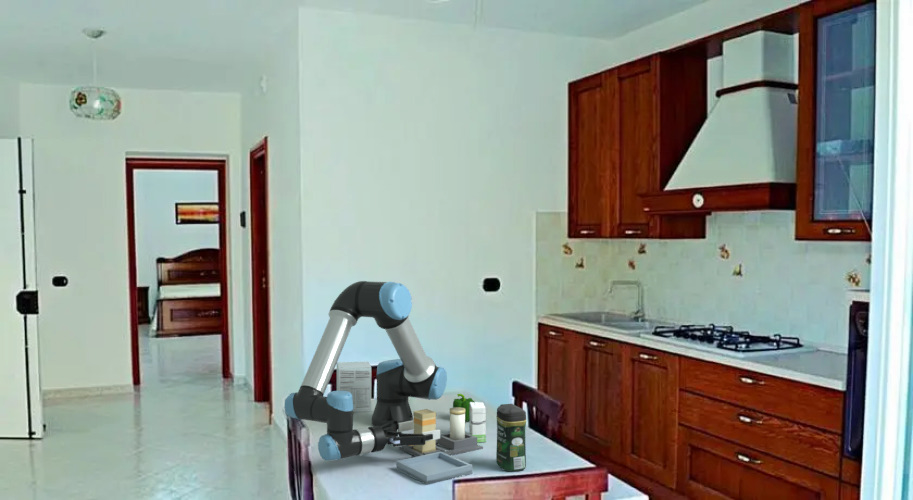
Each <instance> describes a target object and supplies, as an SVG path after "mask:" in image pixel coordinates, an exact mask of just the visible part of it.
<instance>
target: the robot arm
mask: <svg viewBox="0 0 913 500" xmlns="http://www.w3.org/2000/svg"><path fill="white" fill-rule="evenodd" d="M412 308H413V301H412V295H411V293H410V290H409V289H408V288H407V286H406V285H404V284H402V283H400V282H395V281H366V280H359V281H357V282H354V283H351V284H350V285H348V286H347V287H346V288H344V289H343V290H342V292H340V293H339V295H338V296H337V297H336V298H335V300H334V301H333V303H332V305H331V307H330V309H329V311H328V317H329V319H328V322H327V324H326V327H325V328H324V332H323V334H322V336H321V338H320V341H319V343H318V345H317V347H316V350H315V352H314V354H313V357H312V359H311V361H310V363H309V367H308V368H307V371H306V373H305V375H304V378H303V380H302V382H301V385H300V386H299V389H298V391H297V392H291V393H289V395H287V397H286V398H285V401H284V412H285V413H286V415H287V416H288V417H289V418H292V419H297V420H304V421H311V422H312V421H313V422H317V423H323V424H324V423H325V424H326V433H325V434H323V435H321V436H320V437H319V439H318V443H317V449H318V452H319V456H320V457H321V458H322V460H324V461H327V462H329V461H337V460H341V459H347V458H351V457H355V456H359V457H362V456H363V455H366V454H369V453H377V452H381V451H383V450H384V448H385V447H386V445H391V446H393V448H394V447H395V448H396V447H402V446H407V445H425V441H430V440H436V439H440V435H441V429H436V430H433V431H428V432H423V433H421V434H414V433H403V432H406V431H411V430H412V431H413V430H414V416H413V412H412V409H411V406H410V401H409V398H416V399H421V400H423V399H424V400H429V401H430V400H437V401H438V400H439V399H440V398H441V397H442V396H443V395H444V392H445V390H446V386H447V380H448V377H447V376H448V375H447V374H448V373H447V370H446V368H445V367H442V366H437V365H436V363H435V361H434V359H433V358H431V357H430V356H427V354H426V352H425V350H424V348H423V346H422V343H421V341H420V339H419V337H418V335H417V333H416V331H415V329H414V327H413V325H412V322H411V320H410V319H409V316H410V314H411V312H412ZM361 317H363V318H372V319H374V321H375V323H376V325H377V327H378V328H380V329H383V330H385V332H386V334H387V336H388V338H389V340H390V341H391V344H392V346H393V347H394V349H395V351H396V353H397V355H398V358H397V359H389V360H384V361H381V362H379V363H378V364H377V366H376V367H377V368H376V402H375V403H376V404H375V406H374V410H373V413H372V415H371V425H373V426H369V427H361V428H355V429H353V428H354V427H353V425H354V424H353V423H354V412H353V399H352V394H351V393H350V392H348V391H337V390H333V391H330V392H328V393H327V394H326V395H327V396H324V395H325V393H326V391H327V387H328V385H329V383H330V380H331V378H332V375H333V373H334V371H335V369H336V367H337V363H338V361H339V358H340V356H341V354H342V351H343V350H344V349H343V348H344V346H345V345H346V342H347V339H348V337H349V335H350V332H351V329H352V328H353V327H354V326H356V325H357V323H358V321H359V320H360V318H361Z"/></svg>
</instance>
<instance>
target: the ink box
mask: <svg viewBox="0 0 913 500" xmlns="http://www.w3.org/2000/svg"><path fill="white" fill-rule="evenodd" d="M486 414H487V411H486V406H485V404H484V402H480V401H474V402H470V421H469V425H468V426H469V432H468V434H470V435H473V436H475V437H477V443H486V440H487V439H486V437H487V436H486V435H487V429H486V428H487V427H486V426H487V423H486V422H487V421H486V420H487V419H486V417H487V416H486Z"/></svg>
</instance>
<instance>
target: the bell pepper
mask: <svg viewBox="0 0 913 500" xmlns="http://www.w3.org/2000/svg"><path fill="white" fill-rule="evenodd" d="M456 395H457V397H460V398H454V399H453V401H452V408H454V407H461V408H465V423H466V422H470V402H475V400H473V398H471V397H468V398H466V397H465V395H464V394H463V393H457V394H456Z"/></svg>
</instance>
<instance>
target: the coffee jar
mask: <svg viewBox="0 0 913 500" xmlns="http://www.w3.org/2000/svg"><path fill="white" fill-rule="evenodd" d="M526 426H527V412H526V410H524V409H523V408H521V407H520V406H517V405H515V404H513V403H504V404H503V403H502V404H500V405H499V406H498V407H497V409H496V452H495V453H496V457H495V458H496V459H495V461H496V462H495V463H496V465H497V466H498V467H499V468H500V469H502V470H503V471H505V472H507V471H508V472H520V471H523V470H524V469H526V468H527V456H526V455H527V450H526V448H527V447H526Z"/></svg>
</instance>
